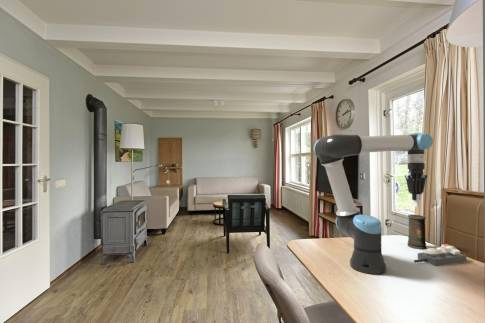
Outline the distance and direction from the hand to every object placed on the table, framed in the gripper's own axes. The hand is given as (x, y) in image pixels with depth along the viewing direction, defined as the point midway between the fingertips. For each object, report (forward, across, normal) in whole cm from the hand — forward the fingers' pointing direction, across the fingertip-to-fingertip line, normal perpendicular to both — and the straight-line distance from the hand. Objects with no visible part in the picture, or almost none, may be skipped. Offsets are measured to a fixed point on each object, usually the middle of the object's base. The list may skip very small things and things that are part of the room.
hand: (416, 206), depth 134 cm
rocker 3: (+22, +10, -10) cm, 26 cm away
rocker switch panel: (+26, +1, -10) cm, 28 cm away
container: (+26, +11, +9) cm, 29 cm away
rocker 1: (+22, -2, -11) cm, 25 cm away
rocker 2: (+22, +4, -11) cm, 25 cm away
